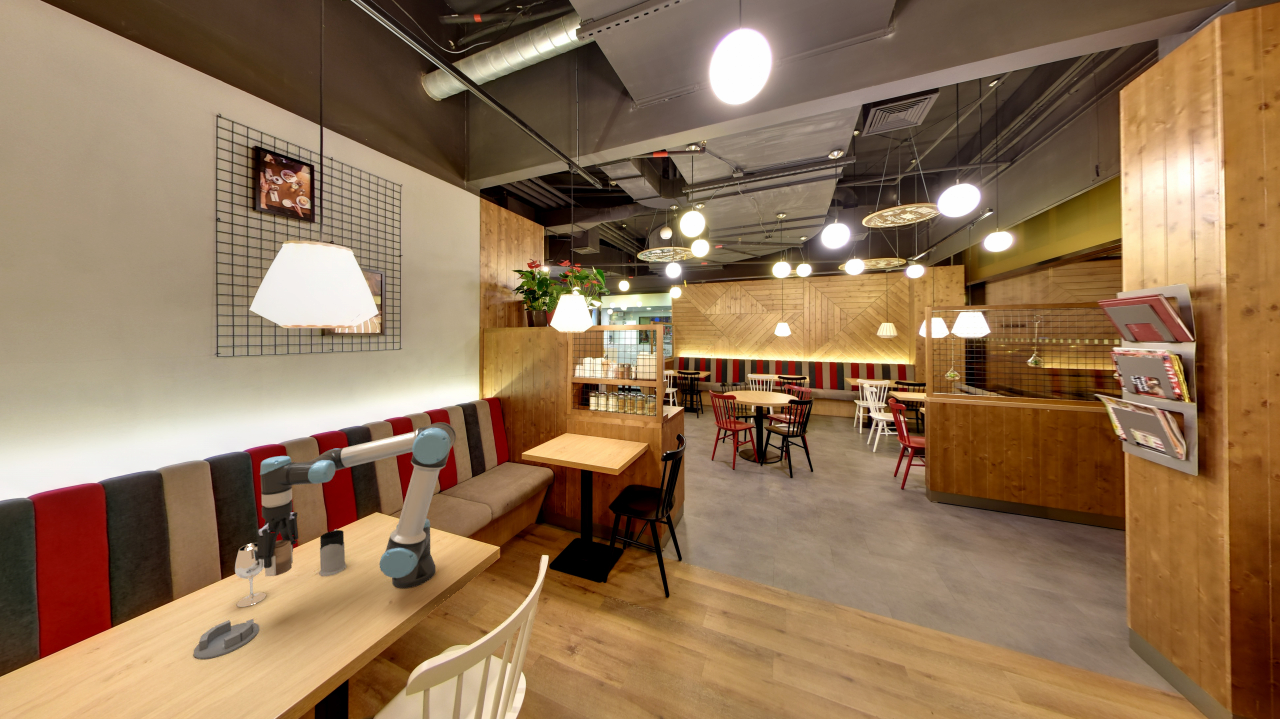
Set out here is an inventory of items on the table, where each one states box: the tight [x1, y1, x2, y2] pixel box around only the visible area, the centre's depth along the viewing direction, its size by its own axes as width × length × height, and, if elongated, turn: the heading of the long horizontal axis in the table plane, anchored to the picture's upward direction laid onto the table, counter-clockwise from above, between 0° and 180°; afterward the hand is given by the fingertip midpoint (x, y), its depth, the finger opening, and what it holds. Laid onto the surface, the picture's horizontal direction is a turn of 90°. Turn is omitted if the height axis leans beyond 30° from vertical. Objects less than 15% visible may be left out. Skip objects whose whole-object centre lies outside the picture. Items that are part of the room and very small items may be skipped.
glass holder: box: [319, 528, 347, 577], centre depth 161 cm, size 9×14×15 cm, turn 30°
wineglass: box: [234, 542, 267, 608], centre depth 139 cm, size 8×8×20 cm
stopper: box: [268, 539, 293, 577], centre depth 130 cm, size 6×6×10 cm
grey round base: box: [193, 618, 260, 660], centre depth 120 cm, size 14×14×4 cm
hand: (279, 569), depth 130 cm, fingers closed on stopper, 6 cm apart
